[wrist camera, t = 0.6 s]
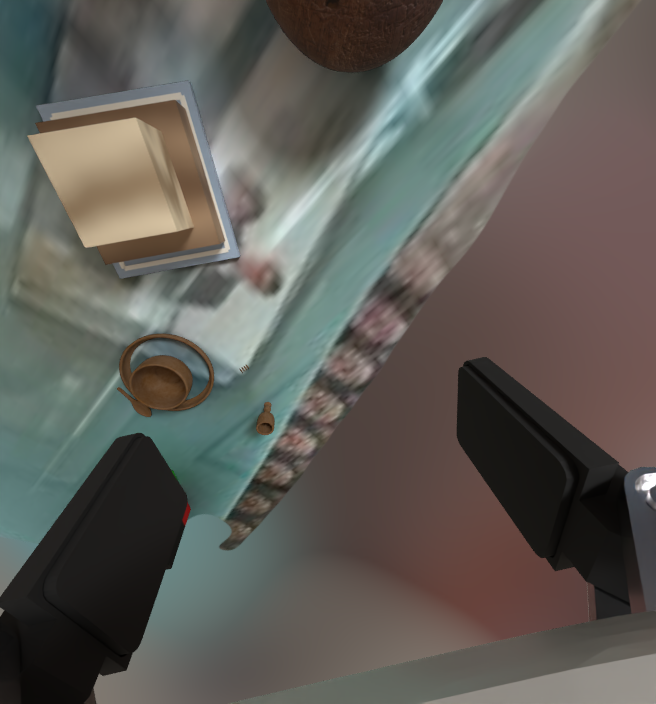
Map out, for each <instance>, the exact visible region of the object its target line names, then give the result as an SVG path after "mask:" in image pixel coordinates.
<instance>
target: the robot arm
mask: <svg viewBox="0 0 656 704" xmlns="http://www.w3.org/2000/svg"><path fill="white" fill-rule="evenodd" d="M457 438H458V441H459V443H460V445H461V447H462V448H463V450H464V451H465V453H466V454H467V455H468V457H469V458H470V460H471V461H472V463H473V464H474V466H475V467H476V469H477V470H478V471H479V473H480V474H481V476H482V477H483V479H484V480H485V482H486V483H487V484H488V486H489V487H490V488H491V490H492V492H493V493H494V494H495V496H496V497H497V499H498V500H499V502H500V503H501V505H502V506H503V507H504V509H505V510H506V512H507V513H508V515H509V516H510V517H511V519H512V520H513V522H514V523H515V525H516V526H517V528H518V529H519V531H520V532H521V533H522V535H523V536H524V538H525V539H526V541H527V542H528V543H529V545H530V546H531V548H532V549H533V551H535V553H536V554H537V555H538V556H539V557H541V558H546V559H547V560H548V562H549V563H550V565H551V566H552V568H553V569H554V570H555V571H558V570H562V569H567V568H571V567H575V568H576V569H577V570H578V572H579V573H580V574H581V576H582V577H583V578H584V579H585V581H586V582H587V591H588V608H589V609H588V610H589V622H586V623H581V624H576V625H571V626H566V627H562V628H556V629H552V630H547V631H542V632H537V633H532V634H527V635H523V636H518V637H514V638H510V639H505V640H501V641H497V642H493V643H488V644H483V645H479V646H475V647H470V648H466V649H461V650H457V651H453V652H448V653H444V654H440V655H435V656H431V657H426V658H422V659H418V660H413V661H409V662H405V663H400V664H396V665H391V666H387V667H383V668H379V669H374V670H370V671H366V672H361V673H357V674H353V675H349V676H345V677H340V678H336V679H331V680H327V681H323V682H319V683H314V684H310V685H306V686H302V687H298V688H293V689H289V690H285V691H280V692H276V693H272V694H267V695H263V696H259V697H255V698H250V699H246V700H242V701H238V702H234V703H230V704H656V467H640V468H637V469H634V470H631V471H630V472H627V471H626V470H625V469H624V468H622V467H621V466H620V465H619V462H617V461H616V460H615V459H614V458H612V457H611V456H610V455H609V454H607V453H606V452H605V451H604V450H602V449H601V448H600V447H599V446H597V445H596V444H595V443H594V442H592V441H591V440H590V439H589V438H587V437H586V436H585V435H584V434H582V433H581V432H580V431H579V430H577V429H576V428H575V427H573V426H572V425H571V424H570V423H568V422H567V421H566V420H565V419H563V418H562V417H561V416H560V415H559V414H557V413H556V412H555V411H553V410H552V409H551V408H550V407H549V406H547V405H546V404H545V403H544V402H542V401H541V400H540V399H538V398H537V397H536V396H535V395H534V394H532V393H531V392H530V391H529V390H527V389H526V388H525V387H524V386H522V385H521V384H520V383H518V382H517V381H516V380H515V379H514V378H512V377H511V376H510V375H508V374H507V373H506V372H505V371H504V370H502V369H501V368H500V367H499V366H497V365H496V364H495V363H493V362H492V361H491V360H490V359H488V358H487V357H482V358H478V359H474V360H469V361H466V362H464V365H463V367H461V368H459V373H458V404H457ZM187 502H188V501H187V495H186V493H185V492H184V490H183V488H182V487H181V485H180V484H179V482H178V480H177V479H176V477H175V476H174V474H173V472H172V471H171V469H170V468H169V466H168V465H167V463H166V461H165V460H164V458H163V457H162V455H161V453H160V452H159V450H158V449H157V447H156V445H155V444H154V442H153V441H152V439H151V438H150V437H148V436H145V435H144V434H142V433H136V434H131V435H127V436H122V437H119V438H117V439H116V440H115V441H114V442H113V444H112V445H111V446H110V448H109V449H108V450H107V452H106V453H105V454H104V456H103V457H102V459H101V460H100V461H99V463H98V464H97V465H96V467H95V468H94V470H93V471H92V472H91V474H90V475H89V476H88V478H87V479H86V480H85V482H84V483H83V485H82V486H81V487H80V489H79V490H78V491H77V493H76V494H75V495H74V497H73V498H72V500H71V501H70V502H69V504H68V505H67V506H66V508H65V509H64V510H63V512H62V513H61V515H60V516H59V517H58V519H57V520H56V521H55V523H54V524H53V526H52V527H51V528H50V530H49V531H48V532H47V534H46V535H45V536H44V538H43V539H42V541H41V542H40V543H39V545H38V546H37V547H36V549H35V550H34V552H33V553H32V554H31V556H30V557H29V558H28V560H27V561H26V562H25V564H24V565H23V566H22V568H21V569H20V571H19V572H18V573H17V575H16V576H15V577H14V579H13V580H12V582H11V583H10V584H9V586H8V587H7V589H6V590H5V591H4V592H3V594H2V595H1V597H0V608H2V609H3V610H5V611H4V612H3V613H2V615H1V616H0V704H96V698H95V693H94V689H93V687H94V685H95V682H96V680H97V677H98V675H99V674H101V675H102V676H104V675H109V674H113V673H117V672H121V671H126V670H127V667H128V665H129V662H130V659H131V656H132V653H133V652H134V651H135V650H136V649H137V648H138V647H139V645H140V643H141V640H142V638H143V635H144V632H145V629H146V626H147V623H148V620H149V617H150V614H151V611H152V608H153V605H154V602H155V599H156V597H157V594H158V590H159V588H160V585H161V582H162V579H163V576H164V573H165V570H166V567H167V564H168V561H169V558H170V555H171V552H172V549H173V546H174V543H175V540H176V537H177V535H178V532H179V529H180V526H181V523H182V520H183V517H184V514H185V511H186V508H187Z"/></svg>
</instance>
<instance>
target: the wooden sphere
mask: <svg viewBox="0 0 656 704" xmlns="http://www.w3.org/2000/svg"><path fill="white" fill-rule="evenodd" d="M266 2H267V4H268V6H269V8H270V10H271V12H272V14H273V16H274V18H275V19H276V21H277V23H278V24H279V26H280V27H281V29H282V30H283V32H284V33H285V34H286V36H287V37H288V38H289V40H290V41H291V42H292V43H293V44H294V45H295V46H296V47H297V48H298V49H299V50H300V51H301V52H302V53H303V54H304V55H306V56H307V57H308V58H310V59H311V60H313V61H314V62H316V63H317V64H319V65H321V66H323V67H326V68H328V69H331V70H335V71H339V72H348V73H354V72H363V71H368V70H371V69H374V68H377V67H379V66H382V65H384V64H386V63H387V62H389V61H391V60H392V59H394V58H395V57H397V56H398V55H399V54H401V53H402V52H403V51H404V50H406V49H407V48H408V47H409V46H410V45H411V44H412V43H413V42H414V41H415V40H416V39H417V38H418V36H419V35H420V34H421V33H422V32H423V31H424V29H425V28H426V27H427V25H428V24H429V23H430V21H431V20H432V18H433V17H434V15H435V14H436V12H437V10H438V9H439V7H440V5H441V4H442V2H443V0H266Z"/></svg>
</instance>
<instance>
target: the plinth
mask: <svg viewBox="0 0 656 704" xmlns="http://www.w3.org/2000/svg"><path fill="white" fill-rule="evenodd" d="M35 124H36V126H37V128H38V130H39V132H40V134H35V135H29V136H28V138H29V140H30V142H31V144H32V146H33V148H34V150H35V152H36V154H37V156H38V157H39V159H40V161H41V163H42V165H43V167H44V169H45V171H46V173H47V175H48V177H49V179H50V181H51V183H52V185H53V187H54V188H55V190H56V192H57V194H58V196H59V198H60V200H61V202H62V204H63V206H64V208H65V210H66V212H67V214H68V216H69V218H70V219H71V221H72V223H73V225H74V227H75V229H76V231H77V233H78V235H79V237H80V239H81V241H82V243H83V245H84V247H85V248H88V247H93V246H97V248H98V250H99V252H100V254H101V256H102V258H103V260H104V262H105V264H106V265H107V264H112V263H118V262H123V261H129V260H134V259H140V258H145V257H151V256H156V255H162V254H167V253H173V252H179V251H184V250H190V249H195V248H201V247H206V246H212V245H217V244H221V243H222V242H224V241H225V238H224V235H223V231H222V228H221V225H220V222H219V218H218V215H217V212H216V208H215V205H214V202H213V198H212V195H211V192H210V188H209V185H208V182H207V178H206V175H205V172H204V169H203V165H202V162H201V159H200V155H199V152H198V149H197V145H196V142H195V139H194V135H193V132H192V129H191V126H190V122H189V119H188V116H187V112H186V109H185V108H184V107H183V106H182V105H180V104H179V103H178V102H177V101H176V100H170V101H164V102H158V103H152V104H146V105H140V106H134V107H128V108H122V109H116V110H110V111H104V112H98V113H92V114H86V115H80V116H74V117H68V118H62V119H56V120H50V121H44V122H38V123H35Z"/></svg>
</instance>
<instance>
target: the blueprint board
mask: <svg viewBox="0 0 656 704" xmlns="http://www.w3.org/2000/svg"><path fill="white" fill-rule="evenodd" d="M170 100H176V101H177V102H178V103H179V104H180V105H182V106H183V107H184V108H185V109H186V112H187V116H188V119H189V122H190V126H191V129H192V132H193V135H194V139H195V142H196V145H197V149H198V152H199V155H200V159H201V162H202V165H203V169H204V172H205V175H206V178H207V182H208V185H209V188H210V192H211V195H212V198H213V202H214V205H215V208H216V212H217V215H218V218H219V222H220V225H221V228H222V231H223V235H224V238H225V241H224V242H222V243H221V244H217V245H212V246H206V247H201V248H195V249H190V250H184V251H179V252H173V253H167V254H162V255H156V256H151V257H145V258H140V259H134V260H129V261H123V262H118V263H113V265H114V267H115V270H116V272H117V274H118V276H119V278H120V279H122V278H127V277H133V276H138V275H144V274H149V273H155V272H160V271H165V270H171V269H176V268H182V267H187V266H193V265H198V264H204V263H209V262H215V261H220V260H226V259H231V258H236V257H240V253H239V250H238V246H237V243H236V239H235V236H234V232H233V229H232V225H231V222H230V218H229V215H228V211H227V208H226V204H225V201H224V197H223V194H222V190H221V187H220V183H219V180H218V176H217V173H216V169H215V166H214V162H213V159H212V155H211V152H210V148H209V145H208V141H207V138H206V134H205V131H204V127H203V124H202V120H201V117H200V113H199V110H198V106H197V103H196V99H195V96H194V92H193V89H192V85H191V83H190V82H189V80H188V81H182V82H176V83H170V84H164V85H158V86H151V87H145V88H139V89H133V90H127V91H121V92H115V93H109V94H103V95H97V96H91V97H85V98H79V99H73V100H67V101H61V102H55V103H49V104H43V105H37V106H36V107H37V109H38V111H39V113H40V115H41V117H42V119H43V121H50V120H56V119H62V118H68V117H74V116H80V115H86V114H92V113H98V112H104V111H110V110H116V109H122V108H128V107H134V106H140V105H146V104H152V103H158V102H164V101H170Z"/></svg>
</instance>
